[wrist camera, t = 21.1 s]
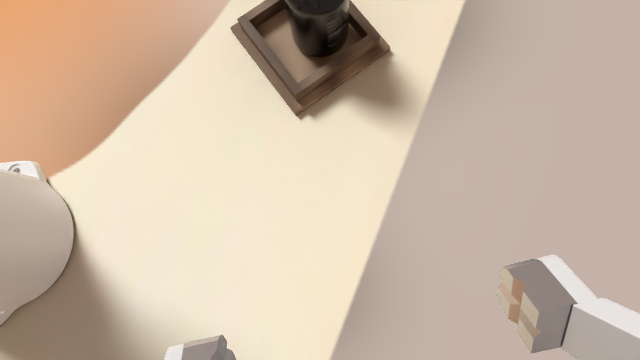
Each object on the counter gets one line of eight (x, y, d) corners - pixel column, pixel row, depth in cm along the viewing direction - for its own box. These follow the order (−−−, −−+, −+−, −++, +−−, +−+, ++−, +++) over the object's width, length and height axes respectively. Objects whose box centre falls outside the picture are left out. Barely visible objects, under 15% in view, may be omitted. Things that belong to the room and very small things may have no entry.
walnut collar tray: (295, 115, 46) (293, 106, 43) (232, 31, 48) (225, 17, 46) (389, 50, 47) (392, 37, 44) (322, -29, 49) (321, -46, 47)
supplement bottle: (341, 3, 48) (343, -80, 36) (353, 53, 46) (359, -18, 34) (287, 15, 48) (270, -65, 36) (297, 64, 46) (284, -2, 34)
